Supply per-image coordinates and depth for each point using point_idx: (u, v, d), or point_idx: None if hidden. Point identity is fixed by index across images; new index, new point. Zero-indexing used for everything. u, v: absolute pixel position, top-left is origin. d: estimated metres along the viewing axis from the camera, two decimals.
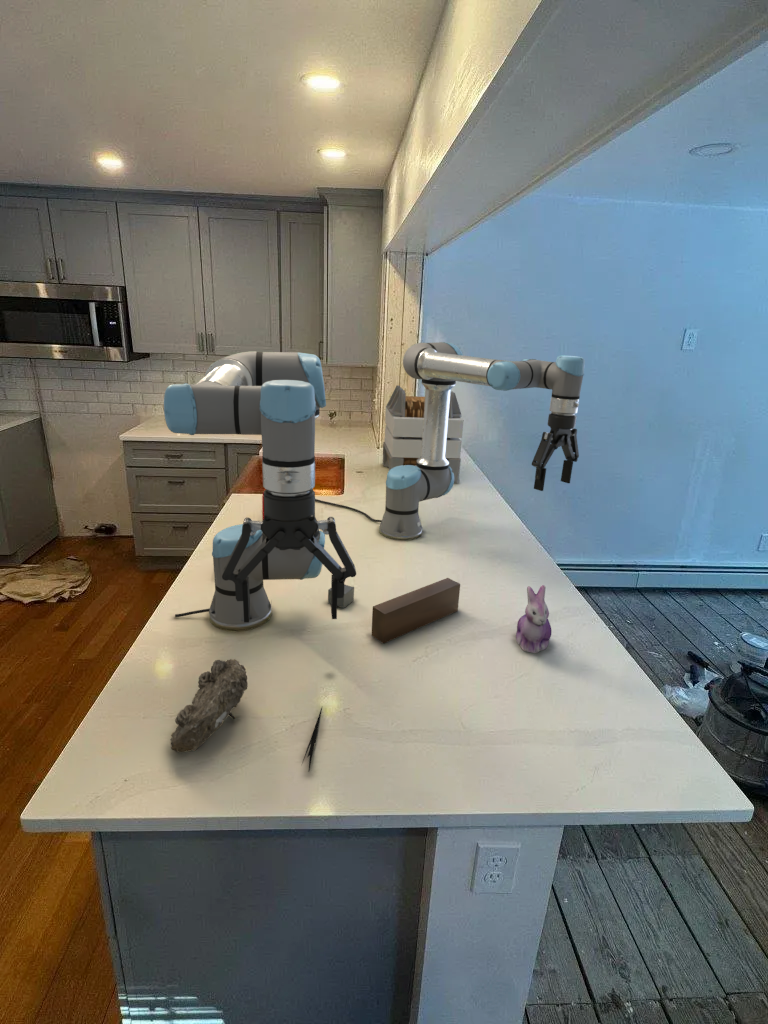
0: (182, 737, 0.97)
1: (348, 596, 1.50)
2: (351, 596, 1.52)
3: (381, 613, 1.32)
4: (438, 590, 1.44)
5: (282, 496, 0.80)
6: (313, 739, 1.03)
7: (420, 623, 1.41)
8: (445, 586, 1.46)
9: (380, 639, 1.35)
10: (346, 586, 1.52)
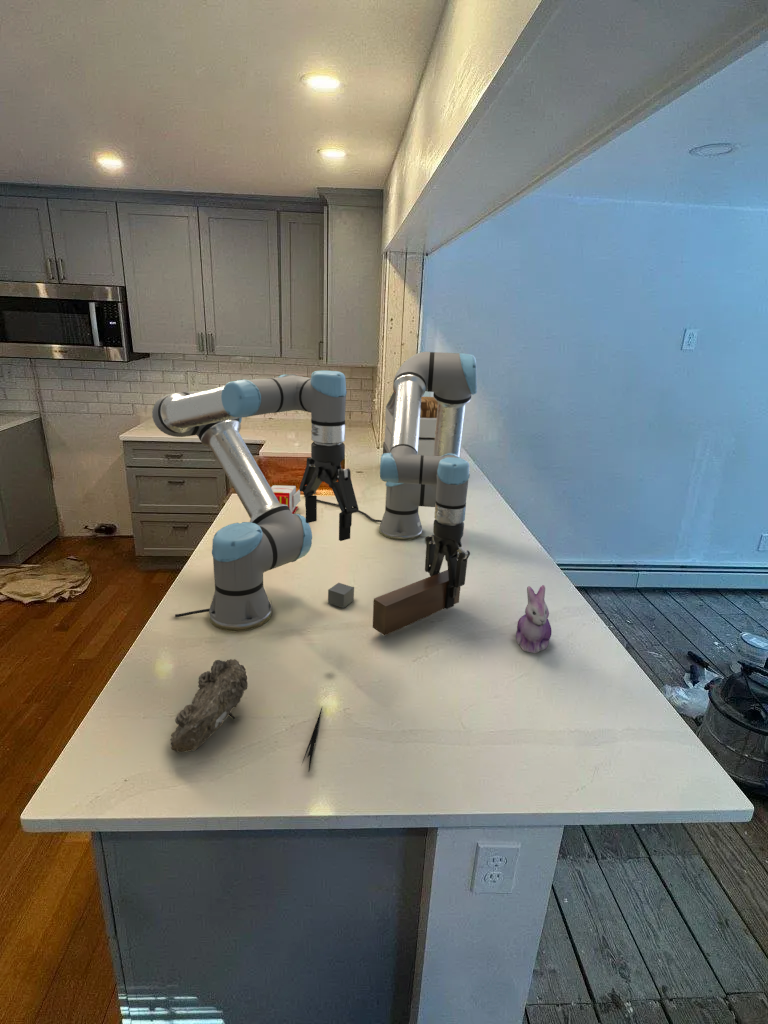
0: (182, 737, 0.97)
1: (348, 596, 1.50)
2: (351, 596, 1.52)
3: (382, 605, 1.32)
4: (439, 581, 1.43)
5: (314, 443, 1.26)
6: (313, 739, 1.03)
7: (422, 615, 1.41)
8: (446, 578, 1.45)
9: (381, 631, 1.35)
10: (346, 586, 1.52)
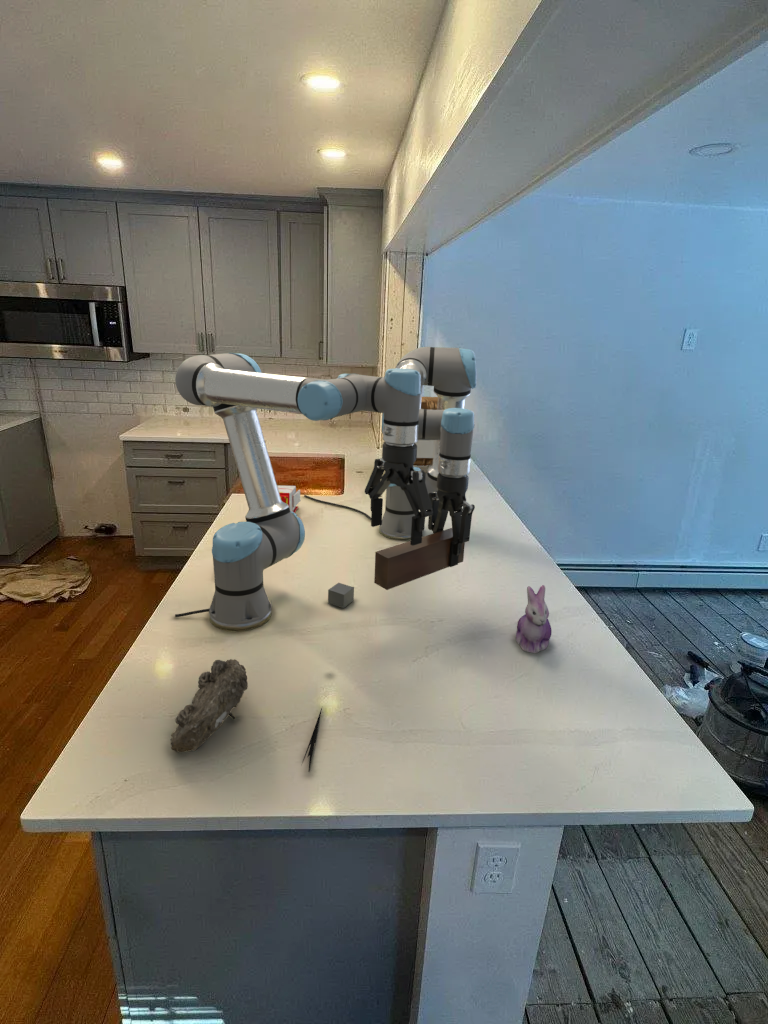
0: (182, 737, 0.97)
1: (348, 596, 1.50)
2: (351, 596, 1.52)
3: (384, 558, 1.28)
4: (443, 538, 1.39)
5: (386, 444, 1.21)
6: (313, 739, 1.03)
7: (425, 571, 1.37)
8: (450, 535, 1.41)
9: (383, 586, 1.30)
10: (346, 586, 1.52)
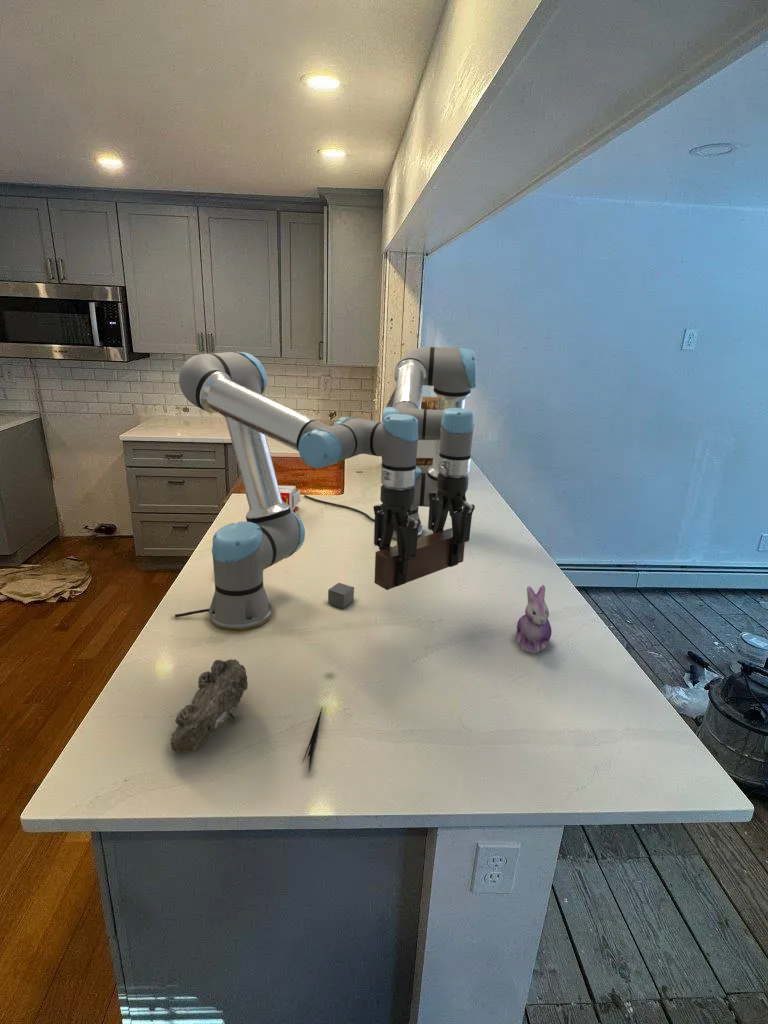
0: (182, 737, 0.97)
1: (348, 596, 1.50)
2: (351, 596, 1.52)
3: (384, 558, 1.28)
4: (443, 538, 1.39)
5: (385, 487, 1.24)
6: (313, 739, 1.03)
7: (425, 571, 1.37)
8: (450, 535, 1.41)
9: (383, 586, 1.30)
10: (346, 586, 1.52)
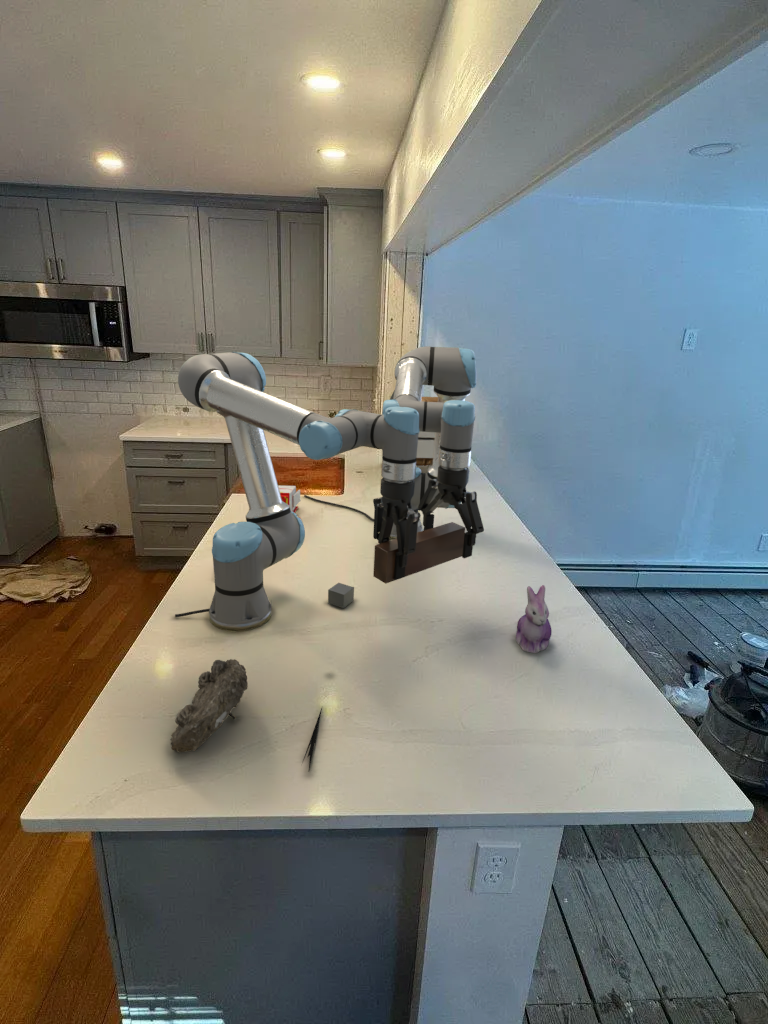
0: (182, 737, 0.97)
1: (348, 596, 1.50)
2: (351, 596, 1.52)
3: (383, 551, 1.27)
4: (442, 532, 1.39)
5: (385, 480, 1.24)
6: (313, 739, 1.03)
7: (424, 566, 1.36)
8: (450, 529, 1.41)
9: (382, 579, 1.30)
10: (346, 586, 1.52)
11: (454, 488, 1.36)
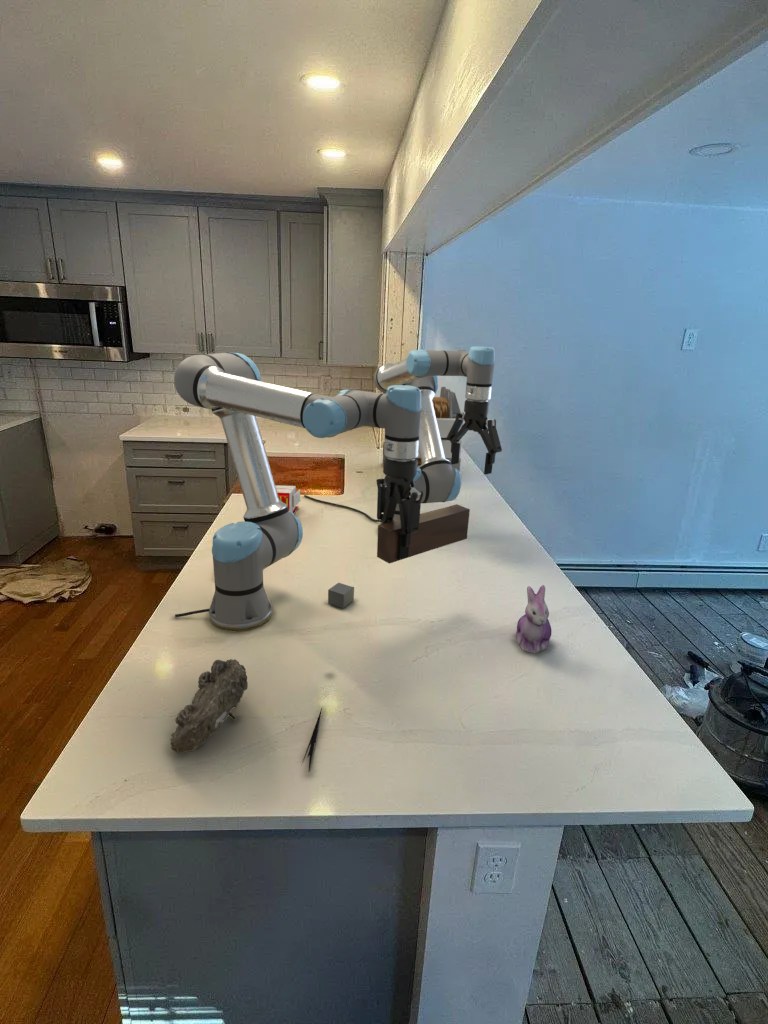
0: (182, 737, 0.97)
1: (348, 596, 1.50)
2: (351, 596, 1.52)
3: (387, 531, 1.27)
4: (446, 513, 1.38)
5: (387, 458, 1.24)
6: (313, 739, 1.03)
7: (428, 547, 1.36)
8: (454, 511, 1.40)
9: (386, 559, 1.30)
10: (346, 586, 1.52)
11: (478, 417, 1.70)
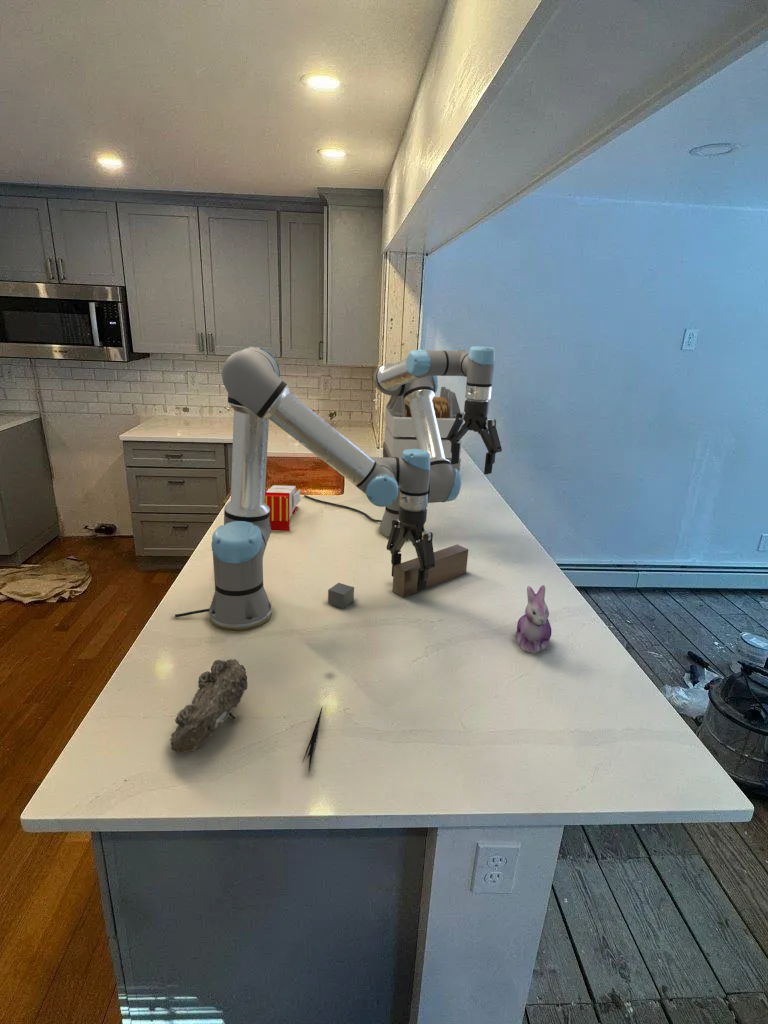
0: (182, 737, 0.97)
1: (348, 596, 1.50)
2: (351, 596, 1.52)
3: (401, 571, 1.54)
4: (449, 553, 1.66)
5: (402, 508, 1.50)
6: (313, 739, 1.03)
7: (434, 582, 1.63)
8: (455, 551, 1.68)
9: (400, 594, 1.57)
10: (346, 586, 1.52)
11: (478, 417, 1.70)
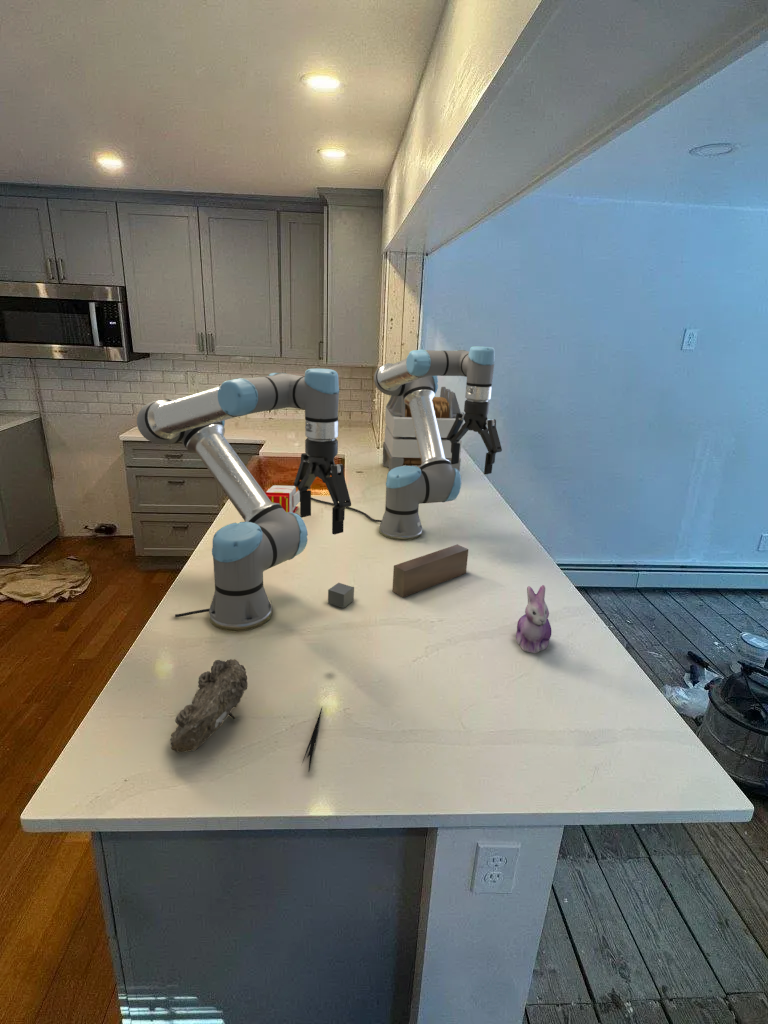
0: (182, 737, 0.97)
1: (348, 596, 1.50)
2: (351, 596, 1.52)
3: (401, 571, 1.54)
4: (449, 553, 1.66)
5: (308, 439, 1.29)
6: (313, 739, 1.03)
7: (434, 582, 1.63)
8: (455, 551, 1.68)
9: (400, 594, 1.57)
10: (346, 586, 1.52)
11: (478, 417, 1.70)
